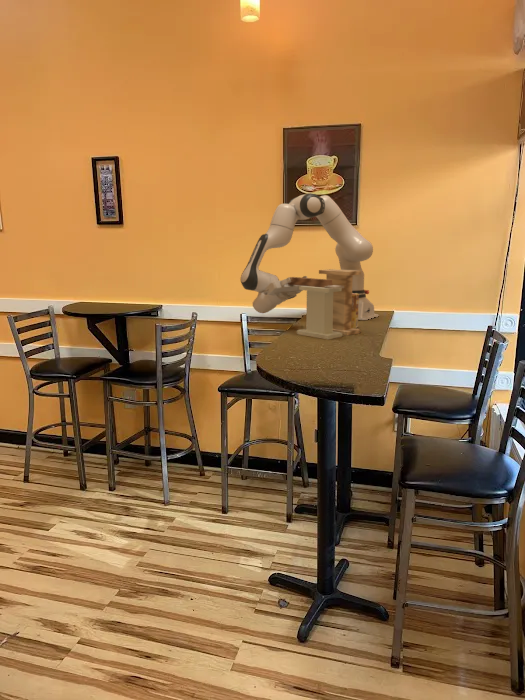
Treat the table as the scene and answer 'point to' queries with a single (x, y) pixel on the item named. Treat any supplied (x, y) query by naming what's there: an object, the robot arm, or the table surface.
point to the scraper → (314, 283)
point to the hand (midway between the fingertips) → (298, 278)
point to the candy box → (354, 310)
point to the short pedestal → (319, 313)
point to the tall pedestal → (342, 300)
